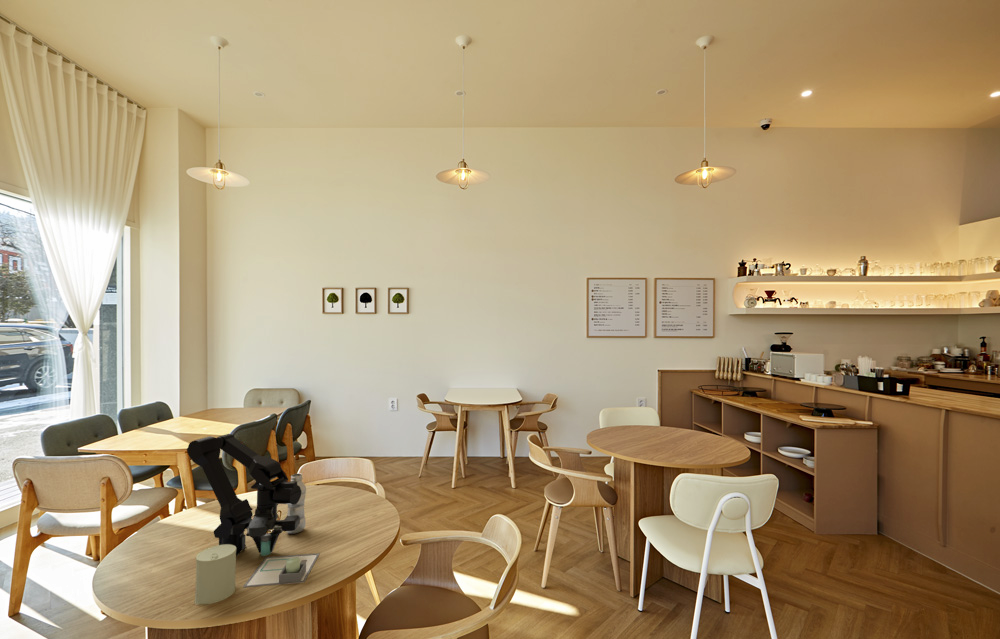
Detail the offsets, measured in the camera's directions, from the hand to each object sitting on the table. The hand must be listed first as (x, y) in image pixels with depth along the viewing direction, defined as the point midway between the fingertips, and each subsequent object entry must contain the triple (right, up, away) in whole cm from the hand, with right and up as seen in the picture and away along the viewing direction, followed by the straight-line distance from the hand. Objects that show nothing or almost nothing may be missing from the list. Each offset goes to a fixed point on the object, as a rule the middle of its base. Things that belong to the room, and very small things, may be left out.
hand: (266, 551), depth 136 cm
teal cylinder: (0, -1, 0) cm, 1 cm away
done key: (+15, +2, -14) cm, 21 cm away
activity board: (+11, -1, -10) cm, 14 cm away
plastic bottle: (+2, -2, +16) cm, 17 cm away
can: (-2, 0, -22) cm, 22 cm away
